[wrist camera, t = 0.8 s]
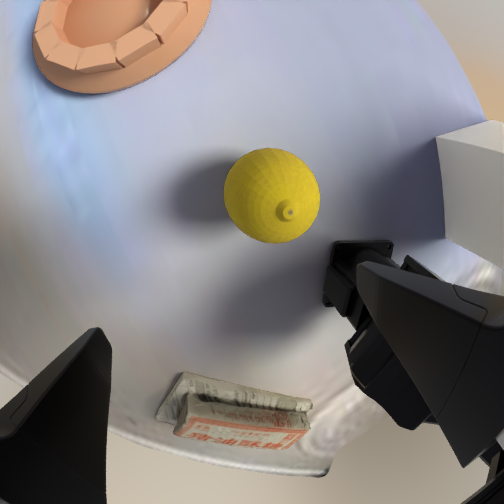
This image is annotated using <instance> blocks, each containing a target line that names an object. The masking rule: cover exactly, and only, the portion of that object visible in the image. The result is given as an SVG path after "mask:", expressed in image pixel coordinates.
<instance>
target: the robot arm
mask: <svg viewBox="0 0 504 504" xmlns="http://www.w3.org/2000/svg"><path fill="white" fill-rule="evenodd" d="M388 245H389V247H388ZM338 246H340V248H339V249H337V247H338ZM393 247H394V244H393V243H392V242H391V241H389V240H376V241H337V242H335V243H334V244H333V247H332V252H331V258H330V264H329V266H328V267H327V273H326V278H325V284H324V289H323V291H324V296H323V304H324V306H325V307H335V308H336V309H337V311H338V312H339V313H340V315H341V316H342V317H347V319H348V320H349V322H350V323H351V324H352V326H353V327H354V328H355V330H356V332H355V334H354V335H353V336H352V338H351V339H350V340H348V341H347V342H346V343H345V345H344V346H345V349H346V353H347V357H348V361H349V365H350V370H351V374H352V377H353V380H354V382H355V385H356V386H357V387H359V389H360V390H361V391H362V392H363V393H365V394H366V395H367V396H369V397H370V398H372V399H373V400H375V401H376V402H377V403H378V404H379V405H381V406H382V407H383V408H384V409H385V410H386V412H387V413H388V414H389V415H390V416H391V417H392V419H394V421H395V422H396V423H397V424H398V425H399V426H400V427H403V428H406V429H409V430H415V429H416V428H417V427H418V426H419V425H420V424H421V423H429V424H437V425H439V426H440V427H441V429H442V431H443V433H444V434H445V437H446V438H447V440H448V442H449V444H450V445H451V447H452V449H453V451H454V453H455V455H456V456H457V459H458V461H459V462H460V464H461V466H462V467H463V468H465V467H466V466H467V465H469V464H470V463H471V462H472V461H474V460H475V459H476V458H478V457H480V458H481V459H482V460H483V461H484V462H485V463H486V464H487V465H488V466H489V467H490V469H489V473H488V478H487V481H486V484H485V485H484V486H483V487H482V488H481V489H479V490H478V491H477V492H475V493H474V494H473V495H472V496H470V497H469V498H468V499H466V500H465V501H463V502H462V503H461V504H504V296H500V295H495V294H490V293H486V292H482V291H477V290H473V289H469V288H465V287H462V286H458V285H455V284H453V285H452V284H451V283H447V282H445V281H444V280H443V279H441V278H440V277H439V276H437V275H436V274H435V273H433V272H432V271H431V270H429V269H428V268H426V267H425V266H423V265H422V264H421V263H419V262H418V261H416V260H415V259H413V258H412V257H410V256H409V255H406V257H405V259H404V263H403V264H402V266H401V267H400V266H399V265H398V264H396V263H395V262H394V261H393V260H391V255H392V251H393ZM328 301H329V302H328ZM327 302H328V303H327ZM111 369H112V347H111V344H110V343H109V341H108V339H107V338H106V336H105V334H104V332H103V331H102V329H101V328H99V327H96V328H90V329H88V330H87V331H86V332H85V333H84V334H83V335H82V336H80V337H79V338H78V339H77V340H76V341H75V342H74V343H72V344H71V345H70V346H69V347H68V348H67V349H66V350H65V351H63V352H62V353H61V354H60V355H59V356H58V357H57V358H56V359H55V360H53V361H52V362H51V363H50V364H49V365H48V366H47V367H46V368H45V369H44V370H43V371H41V372H40V373H39V374H38V375H37V376H36V377H35V378H34V379H33V380H32V381H31V382H30V383H29V385H26V386H25V387H24V388H23V389H22V390H21V391H20V392H19V393H18V394H17V395H16V396H15V397H14V398H13V399H11V400H10V401H9V402H8V403H7V404H6V405H5V406H4V407H2V408H1V409H0V504H107V499H106V445H107V427H108V414H109V403H110V393H111Z"/></svg>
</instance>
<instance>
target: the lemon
mask: <svg viewBox="0 0 504 504" xmlns="http://www.w3.org/2000/svg"><path fill="white" fill-rule="evenodd" d="M223 195H224V201H225V207H226V209H227V211H228V214H229V216H230V218H231V219H232V221H233V222H234V223H235V224H236V226H237V227H238V228H239V229H240V230H241V231H243V232H244V233H245V234H247V235H248V236H250V237H251V238H254V239H256V240H259V241H261V242H266V243H274V244H275V243H284V242H288V241H291V240H293V239H296V238H297V237H299V236H300V235H302V234H303V233H304V232H305V231H306V230H307V229H308V228H309V227H310V226H311V225H312V223H313V222H314V220H315V218H316V216H317V213H318V210H319V204H320V193H319V187H318V184H317V181H316V179H315V177H314V175H313V173H312V171H311V170H310V169H309V168H308V167H307V165H306V164H305V163H304V162H303V161H302V160H300V159H299V158H298V157H296V156H295V155H293V154H292V153H289V152H286V151H283V150H281V149H273V148H264V149H259V150H254V151H252V152H250V153H248V154H246V155H244V156H243V157H241V158H240V159H239V160H238V161H236V162H235V164H234V165H233V166H232V168H231V169H230V171H229V172H228V175H227V178H226V180H225V185H224V193H223Z"/></svg>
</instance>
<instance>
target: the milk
mask: <svg viewBox="0 0 504 504" xmlns="http://www.w3.org/2000/svg"><path fill="white" fill-rule="evenodd" d="M436 143H437V149H438V155H439V162H440V169H441V177H442V187H443V198H444V212H445V238H446V239H448V240H450V241H452V242H454V243H456V244H458V245H460V246H462V247H463V248H465V249H467V250H469V251H471V252H473V253H475V254H477V255H478V256H480V257H482V258H484V259H486V260H487V261H489V262H491V263H493V264H494V265H496V266H498V267H500V268H501V269H503V270H504V122H500V121H495V120H489V121H485V122H482V123H478V124H475V125H472V126H468V127H465V128H462V129H459V130H455V131H452V132H449V133H446V134H443V135H440V136H437V137H436Z"/></svg>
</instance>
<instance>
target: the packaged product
mask: <svg viewBox="0 0 504 504" xmlns="http://www.w3.org/2000/svg"><path fill="white" fill-rule="evenodd" d="M312 407H313V403H312V400H311V399H305V398H298V397H292V396H287V395H282V394H278V393H273V392H268V391H263V390H259V389H254V388H250V387H246V386H241V385H237V384H233V383H228V382H224V381H220V380H215V379H211V378H207V377H203V376H199V375H195V374H192V373H187V372H183V373H182V375H181V376H180V378H179V379H178V381H177V382H176V384H175V385H174V387H173V389H172V390H171V392H170V393H169V394H168V396H167V397H166V399H165V400H164V402H163V403H162V405H161V406H160V408H159V410H158V413H157V416H156V420H159V421H166V422H169V423H170V424H176V426H175V428H174V431H173V434H174V435H177V436H180V437H185V438H189V439H194V440H200V441H206V442H211V443H218V444H225V445H231V446H240V447H248V448H259V449H272V450H280V449H287V448H289V447H290V446H291V445H292V444H293V443H294V442H296V441H297V440H299V439H300V438H301V437H302V436H304V435H305V434H306V433H307V432H308V431H309V430H310V429H311V428H310V423H309V422H308V417H307V414H306V413H307V412H308V411H309V410H310V409H312Z"/></svg>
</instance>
